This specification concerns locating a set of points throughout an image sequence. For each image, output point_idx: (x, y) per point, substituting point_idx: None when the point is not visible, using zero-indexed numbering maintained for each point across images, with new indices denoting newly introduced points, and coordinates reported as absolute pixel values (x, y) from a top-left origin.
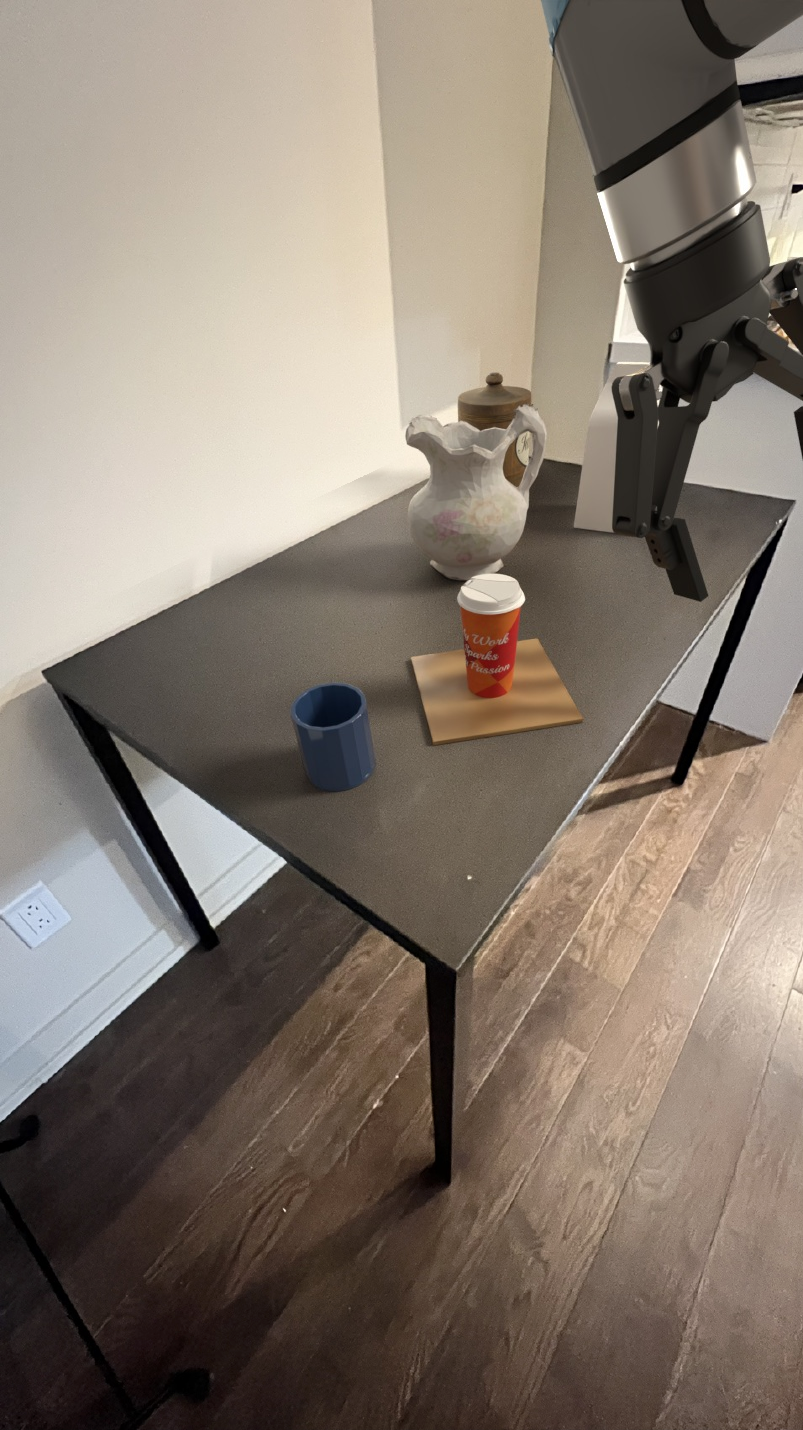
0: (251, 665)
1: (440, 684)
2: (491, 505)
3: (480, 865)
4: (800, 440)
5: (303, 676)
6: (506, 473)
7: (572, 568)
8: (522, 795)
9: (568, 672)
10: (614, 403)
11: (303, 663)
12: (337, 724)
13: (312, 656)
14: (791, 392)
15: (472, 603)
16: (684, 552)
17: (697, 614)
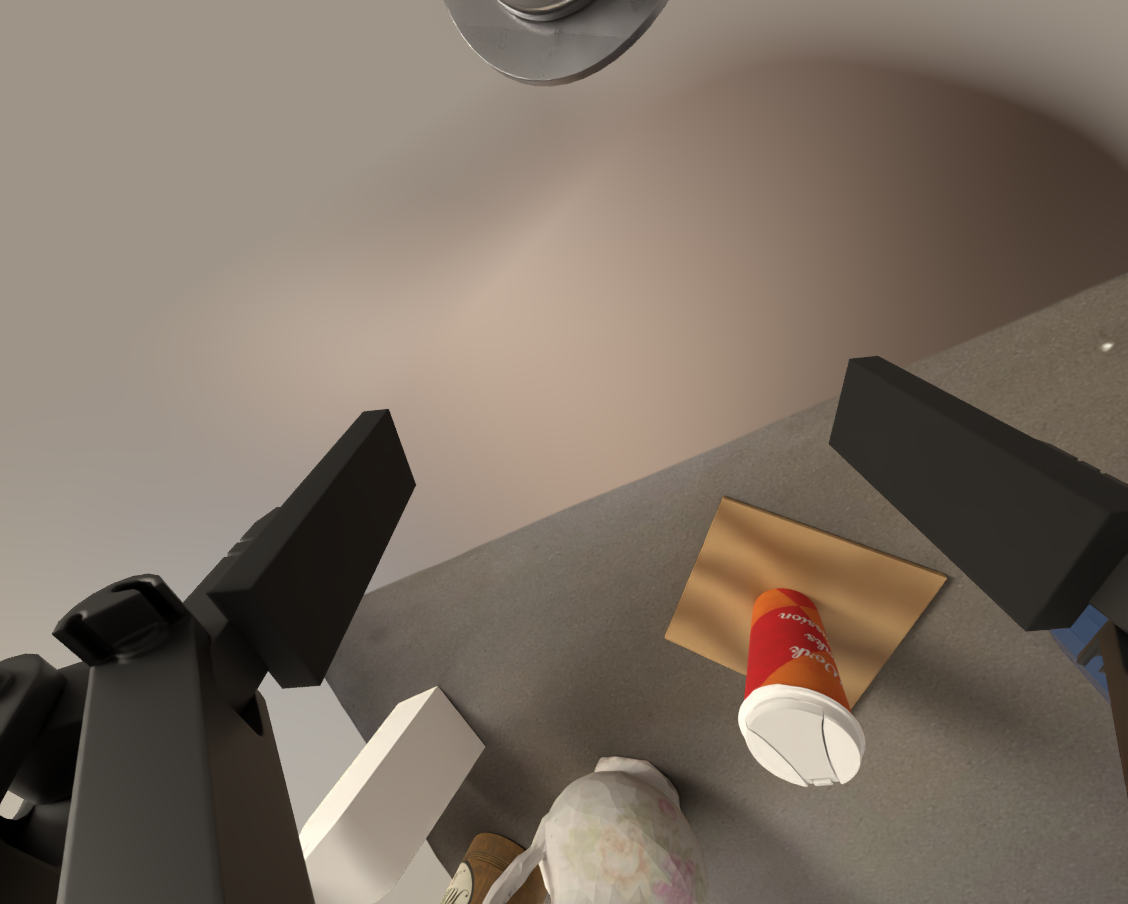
0: (1089, 872)
1: (846, 655)
2: (606, 865)
3: (1069, 358)
4: (363, 587)
5: (1023, 798)
6: (495, 873)
7: (535, 698)
8: None
9: (672, 571)
10: (353, 887)
11: (1000, 817)
12: None
13: (974, 817)
14: (277, 772)
15: (858, 741)
16: (1021, 435)
17: (478, 555)
